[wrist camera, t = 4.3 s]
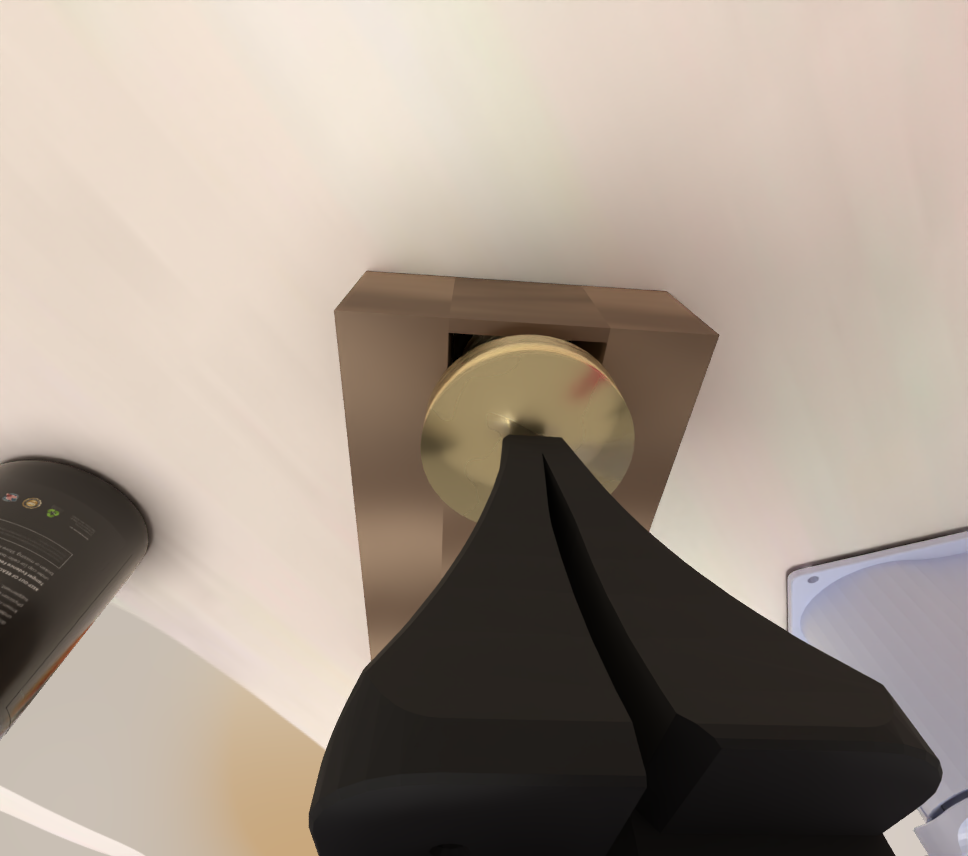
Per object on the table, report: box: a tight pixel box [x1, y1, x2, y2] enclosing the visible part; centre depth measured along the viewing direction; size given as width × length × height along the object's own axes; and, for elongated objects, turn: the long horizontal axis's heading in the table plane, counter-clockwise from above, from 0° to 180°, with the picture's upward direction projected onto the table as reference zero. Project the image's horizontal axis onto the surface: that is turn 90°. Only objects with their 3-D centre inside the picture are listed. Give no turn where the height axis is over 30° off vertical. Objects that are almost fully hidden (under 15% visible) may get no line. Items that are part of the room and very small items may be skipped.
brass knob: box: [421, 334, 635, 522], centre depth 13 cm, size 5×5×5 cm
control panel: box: [334, 271, 719, 661], centre depth 20 cm, size 24×10×4 cm, turn 176°
